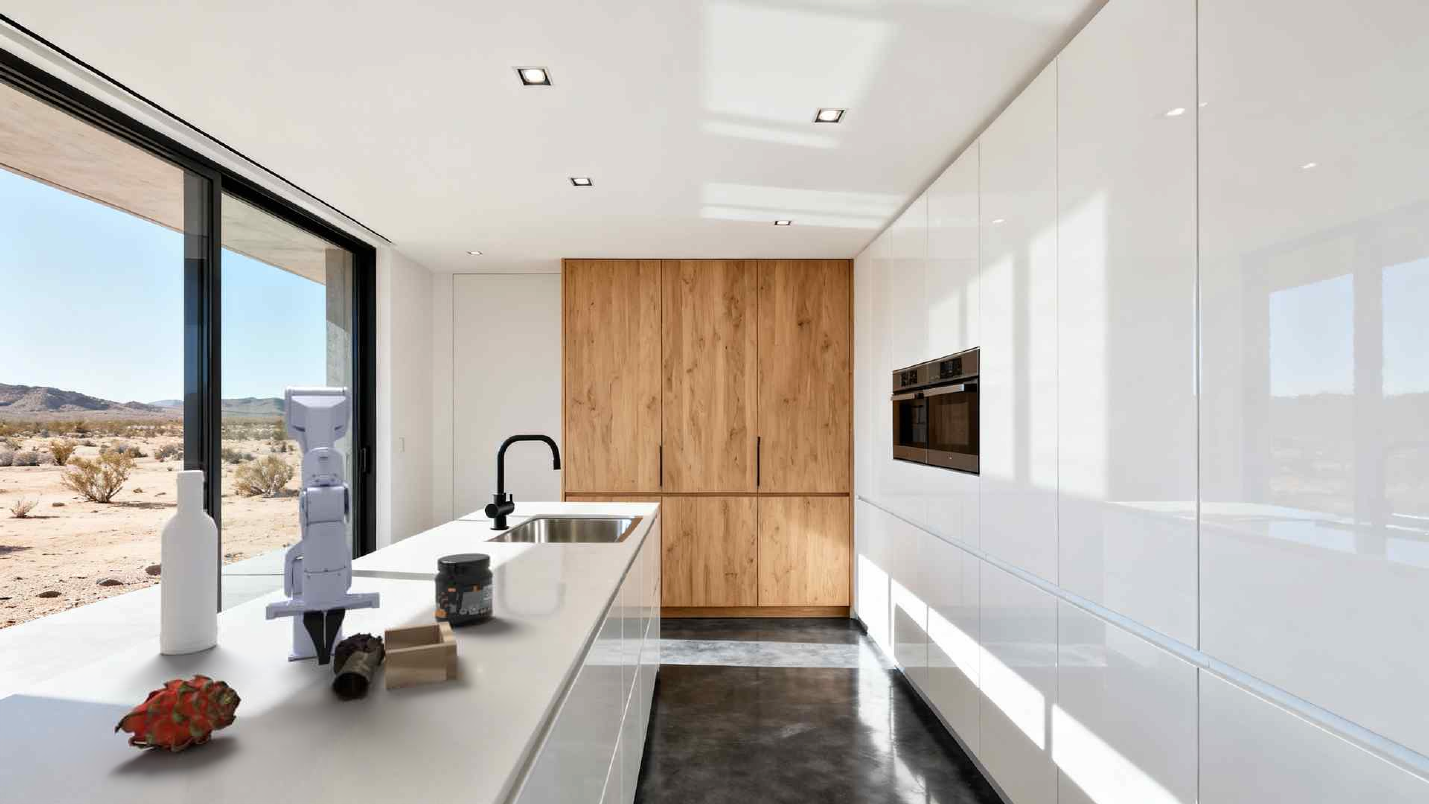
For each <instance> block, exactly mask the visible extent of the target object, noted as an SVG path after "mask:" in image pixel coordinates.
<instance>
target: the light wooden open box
mask: <svg viewBox="0 0 1429 804" xmlns="http://www.w3.org/2000/svg"><path fill="white" fill-rule="evenodd" d="M457 647H458V644H457V641H456V638H455V636H454V633H453V631H452V627H450V625H449V622H448V621H447V622H438V623H437V622H431V623H425V624H424V623H423V624H415V625H408V626H397V627H390V628H389V627H388V628H385V629H384V649H385V651H386V656H385V657H384V664H385V690H391V689H392V688H393V689H398V688H397V687H399V688H405V687H411V686H418V685H425V684H431V683H438V682H443V681H444V682H445V681H452V680H457V678H458V668H457V667H458V652H457V651H458V648H457ZM393 689H392V690H393Z"/></svg>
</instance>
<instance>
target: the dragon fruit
mask: <svg viewBox="0 0 1429 804" xmlns="http://www.w3.org/2000/svg"><path fill="white" fill-rule="evenodd" d="M192 676H193V677H194V679H193V678H191V679H190V680H189V681H188V680H184V679H181V678H180V679H179V678H178V679H173V680H168V681H166V682H165V681H164V683H163V684H162V685H163V687H162V688H160V689H155V690H152V691H150V692H149V693H148V696H147V698H146V699H145V700H144V702H142V703H141V704H139V705H137V706H136V707H134V708H133V709H132V711H130V712H129V713H127V714H125V715H124V716H123V717H122V718H121V719H120V721H118V723H117V724H116V726H115V727H114V734H116V735H117V733H118V732H119V731H120V730H122V731H123V732H124V734H131V733H133V734H134V735H132V736H131V737H129V738H128V741H127V743H128V745H129V746H130V747H133V748H135V747H136V748H137V749H140V750H143V749H150V748H157V749H159V750H165V749H167V748H168V749H169V748H170V749H171V751H172V753H173V754H174V753H175V754H178V753H179V752H180V751H181V750H183V749H186V748H187V747H188V746H189V744H190V742H193V743H194V744H196V745H201V744H205V743H207V742H208V740H209V741H210V740H211V738H212V733H213V731H221V730H224V729H225V728H227V727H229V726H232V724H233V722H235V720H236V718H237V716H236V715H235V712H236V711H237V709H238V707H239V706H240V704H241V701H242V699H241V697H240V696H239V695H238V692H237V691H236V690H235V689H234V688H232V687H230V685H229V684H228V683H227V682H226V681H224V680H217V681H214V680H213V679H212V678H211V677H208V676H205V675H204V674H201V673H197V674H196V673H195V674H193V675H192Z"/></svg>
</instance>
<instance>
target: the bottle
mask: <svg viewBox="0 0 1429 804" xmlns="http://www.w3.org/2000/svg"><path fill="white" fill-rule="evenodd" d="M204 482H205V476H204V471H203V470H199V469H198V470H197V469H196V470H181V471H180V470H179V471H178V472H177V474H176V479H175V483H176V488H177V489H176V513H175V514H174V515H172V517H171V518H169V519H168V520H167V521H166V523H165V525H164V527H163V529H162V532H161V535H160V536H161V541H160V545H161V547H160V548H161V549H160V555H161V556H160V557H161V558H160V559H161V561H160V634H159V645H160V646H159V647H160V652H161V654H163V655H167V656H181V655H188V654H194V653H199V652H202V651H206V650H209V649H211V648H213V647H215V646H216V644H217V643H218V633H219V626H218V556H219V555H218V543H219V542H218V538H219V537H218V532H219V531H218V528H217V525H216V523H215V521H214V518H213V517H212V516H210V515H209V514H207V512H205V511H204Z"/></svg>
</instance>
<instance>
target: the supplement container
mask: <svg viewBox="0 0 1429 804" xmlns="http://www.w3.org/2000/svg"><path fill="white" fill-rule="evenodd" d="M436 561H437V563H436V564H437V571H438V573H437V574H436V575H435V577H434V583H435V587H434V588H435V590H434V595H435V596H434V597H435V598H434V599H435V600H434V601H435V607H434V609H435V614H434V620H435V623H438V622H447V621H448V622H449V625H450V628H464V626H466V627H473V626H478V625H480V623H481V624H483V623H485V622H488V621H489V620H490V619H492V617H493V615H494V614H493V613H494V609H493V579H494V573H493V571H492V570H491V569H490V567H491V556H490V555H488V554H486V553H477V552H476V553H475V552H473V553H457V554H451V555H446V556H442V557H439V558H438V559H437V560H436ZM472 625H473V626H472Z"/></svg>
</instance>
